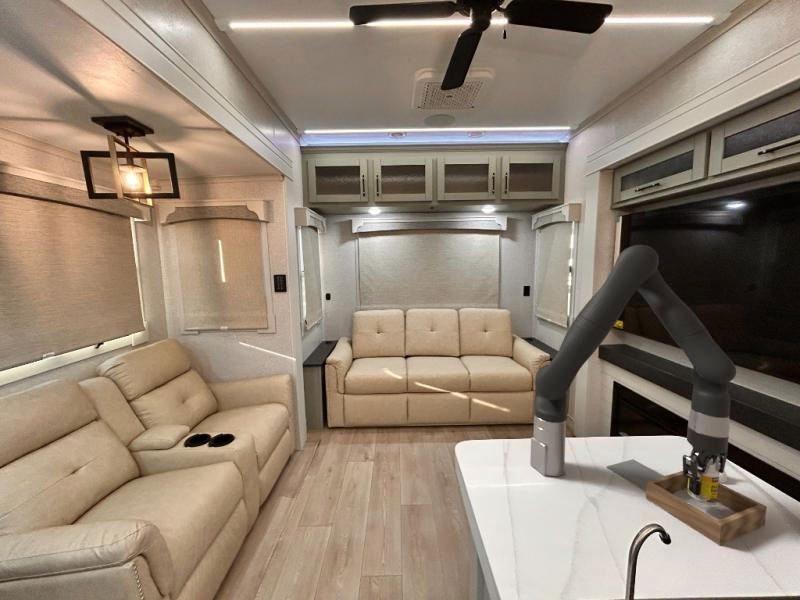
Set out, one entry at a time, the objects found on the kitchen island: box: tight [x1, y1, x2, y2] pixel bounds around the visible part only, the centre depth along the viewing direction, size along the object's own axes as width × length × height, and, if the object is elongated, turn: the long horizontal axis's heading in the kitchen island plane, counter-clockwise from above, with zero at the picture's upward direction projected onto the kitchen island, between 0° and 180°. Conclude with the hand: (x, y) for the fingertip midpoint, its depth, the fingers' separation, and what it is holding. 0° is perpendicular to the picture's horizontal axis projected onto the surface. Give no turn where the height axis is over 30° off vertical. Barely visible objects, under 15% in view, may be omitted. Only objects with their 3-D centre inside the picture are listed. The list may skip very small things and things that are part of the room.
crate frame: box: [645, 470, 767, 546], centre depth 82 cm, size 18×16×5 cm
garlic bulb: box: [718, 470, 728, 484], centre depth 96 cm, size 6×6×8 cm
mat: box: [606, 458, 665, 492], centre depth 98 cm, size 12×12×1 cm
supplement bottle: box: [686, 462, 719, 505], centre depth 82 cm, size 6×6×10 cm
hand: (702, 490), depth 82 cm, fingers closed on supplement bottle, 5 cm apart
